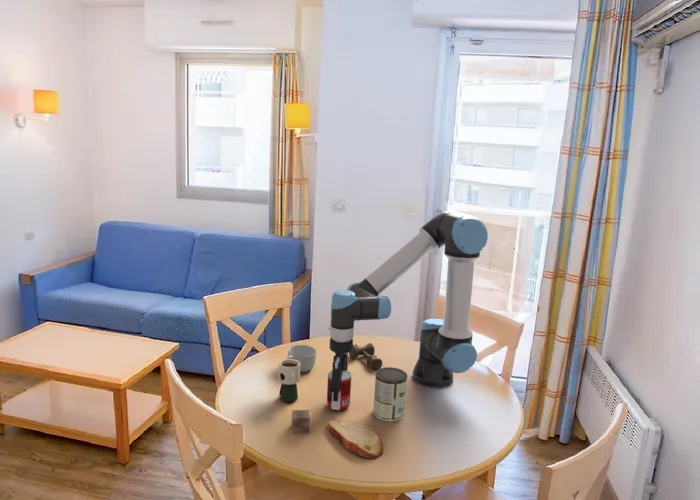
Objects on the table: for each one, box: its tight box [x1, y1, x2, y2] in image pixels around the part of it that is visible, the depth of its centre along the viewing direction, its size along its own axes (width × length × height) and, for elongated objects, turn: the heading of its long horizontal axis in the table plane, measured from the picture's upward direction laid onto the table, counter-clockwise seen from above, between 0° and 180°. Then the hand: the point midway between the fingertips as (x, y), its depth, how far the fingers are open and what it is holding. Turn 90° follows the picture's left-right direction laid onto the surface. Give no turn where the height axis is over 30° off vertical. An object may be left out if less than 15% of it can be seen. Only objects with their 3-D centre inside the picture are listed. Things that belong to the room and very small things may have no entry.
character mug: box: [277, 358, 301, 403], centre depth 186 cm, size 11×7×13 cm, turn 22°
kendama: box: [348, 342, 383, 371], centre depth 222 cm, size 6×10×20 cm
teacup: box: [286, 344, 318, 373], centre depth 210 cm, size 14×11×8 cm
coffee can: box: [372, 366, 408, 422], centre depth 180 cm, size 10×10×14 cm
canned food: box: [326, 369, 352, 411], centre depth 184 cm, size 8×8×11 cm
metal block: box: [291, 409, 311, 434], centre depth 169 cm, size 5×5×5 cm
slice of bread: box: [325, 419, 384, 460], centre depth 165 cm, size 18×18×4 cm
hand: (338, 402), depth 185 cm, fingers closed on canned food, 8 cm apart
